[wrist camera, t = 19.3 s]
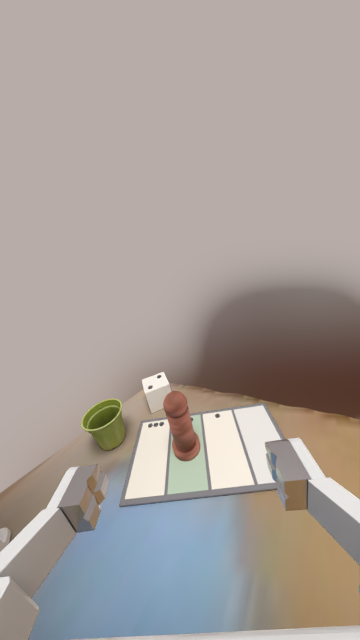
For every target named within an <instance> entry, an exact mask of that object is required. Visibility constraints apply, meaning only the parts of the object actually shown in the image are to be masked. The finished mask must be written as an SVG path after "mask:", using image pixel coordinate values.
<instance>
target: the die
mask: <svg viewBox="0 0 360 640" xmlns="http://www.w3.org/2000/svg"><path fill="white" fill-rule="evenodd" d="M142 383H143V387H144V391H145V395H146V398H147V401H148V404H149V407H150V410H151V414H152V413H154V412H156V411H159V410H161V409H163V408H164V407H163V402H164V399H165V397H166V395H167V394H168V393H170V392H171V389H170V385H169V383H168V380H167V378H166V376H165V374H164V372H162V373H159V374H157V375H154V376H151V377H148V378H146V379H143V380H142Z"/></svg>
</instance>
